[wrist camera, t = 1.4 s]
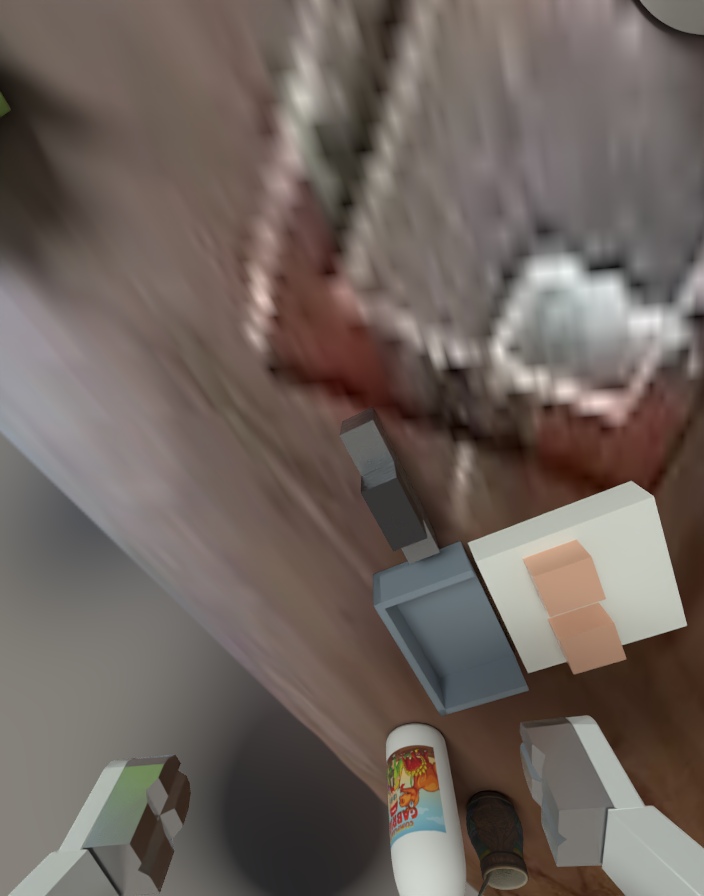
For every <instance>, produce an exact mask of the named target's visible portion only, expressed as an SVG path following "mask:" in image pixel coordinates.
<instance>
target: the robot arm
mask: <svg viewBox="0 0 704 896" xmlns="http://www.w3.org/2000/svg"><path fill="white" fill-rule="evenodd" d="M640 1H641V3H642V4H643V5H644V6H645V7H646V9H647V10H648V11H649V12H650V13H652V14H653V15H654V16H655V17H656V18H657V19H659V20H660V21H662V22H663V23H665V24H667V25H668V26H670V27H673V28H675V29H677V30H680V31H683V32H687V33H692V34H699V35H704V0H640ZM520 734H521V737H522V739H523V743H522V744H521V746H520V751H521V760H522V765H523V770H524V774H525V777H526V780H527V784H528V786H529V789H530V792H531V795H532V798H533V799H534V800H535V801H536V802H537V803H538V804H539V805H540V806H541V807H542V826H543V829H544V831H545V834H546V837H547V840H548V842H549V845H550V848H551V851H552V853H553V856H554V859H555V862H556V864H557V867H560V866H590V865H602V869H603V870H604V871H605V872H606V873H607V875H608V876H609V877H610V878H611V879H612V880H613V882H614V883H615V884H616V885H617V886H618V887H619V888H620V890H621V891H622V892H623V893H624V894H625V895H626V896H704V848H703V847H702V846H700V845H699V844H698V843H697V842H696V841H694V840H693V839H692V838H691V837H690V836H688V835H687V834H686V833H685V832H684V831H683V830H681V829H680V828H679V827H678V826H677V825H675V824H674V823H673V822H672V821H671V820H669V819H668V818H667V817H666V816H665V815H664V814H662V813H661V812H660V811H659V810H658V809H656V808H655V807H654V806H645V805H644V803H643V801H642V800H641V798H640V796H639V795H638V793H637V791H636V789H635V788H634V786H633V784H632V783H631V781H630V779H629V777H628V776H627V774H626V772H625V771H624V769H623V767H622V765H621V764H620V762H619V760H618V759H617V757H616V755H615V753H614V752H613V750H612V748H611V747H610V745H609V743H608V741H607V740H606V738H605V736H604V735H603V733H602V731H601V729H600V728H599V726H598V724H597V723H596V721H595V720H594V719H593V718H592V717H591V716H588V715H585V716H576V717H566V718H565V717H561V718H553V719H544V720H535V721H527V722H521V724H520ZM180 764H181V763H180V762H179V760H178V758H177V757H176V755H168V756H158V757H147V758H130V759H122V760H112V761H111V762H110V763H109V764H108V765H107V767H106V768H105V769H104V770H103V772H102V774H101V776H100V777H99V779H98V781H97V783H96V784H95V786H94V788H93V790H92V792H91V793H90V795H89V797H88V799H87V801H86V803H85V804H84V806H83V808H82V809H81V811H80V813H79V815H78V817H77V819H76V820H75V822H74V824H73V826H72V827H71V829H70V831H69V833H68V835H67V836H66V838H65V840H64V842H63V844H62V845H61V847H60V849H59V851H55V852H51V853H50V854H49V855H48V856H47V857H46V858H45V859H44V860H43V861H42V862H41V863H40V864H39V865H38V866H37V867H36V868H35V869H34V870H33V871H32V872H31V873H30V874H29V875H28V876H27V877H26V878H25V879H24V880H23V881H22V882H21V883H20V884H19V885H18V886H17V887H16V888H15V889H14V890H13V891H12V892H11V893H10V894H9V895H8V896H139V895H149V894H157V893H160V891H161V888H162V885H163V882H164V879H165V876H166V874H167V871H168V867H169V865H170V862H171V859H172V856H173V853H174V848H173V841H172V838H173V837H174V836H175V834H176V833H177V832H178V831H179V830H180V829H181V827H182V826H183V824H184V821H185V818H186V814H187V812H188V808H189V801H190V794H191V792H190V783H189V781H188V778H187V776H186V775H184V774H183V773H181V772H180V771H178V769H179V766H180Z"/></svg>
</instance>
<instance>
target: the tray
mask: <svg viewBox="0 0 704 896" xmlns="http://www.w3.org/2000/svg"><path fill="white" fill-rule="evenodd" d="M439 551H440V553H437V554H434V555H432V556H429V557H427V558H424V559H421V560H419V561H416V562H413V563H411V564H409V562H408V561H407V562H404V563H402V564H399V565H397V566H394V567H391V568H389V569H386V570H383V571H381V572H378V573H376V574H373V602H374V607H375V609H376V610H377V612H378V614H379V615H380V617H381V619H382V620H383V622H384V623H385V625H386V627H387V628H388V630H389V632H390V633H391V635H392V637H393V638H394V640H395V641H396V643H397V645H398V646H399V648H400V650H401V651H402V653H403V655H404V656H405V658H406V659H407V661H408V663H409V664H410V666H411V668H412V669H413V671H414V673H415V674H416V676H417V677H418V679H419V681H420V682H421V684H422V686H423V687H424V689H425V691H426V692H427V694H428V695H429V697H430V699H431V700H432V702H433V704H434V705H435V707H436V709H437V710H438V712H439V713H440V715H441V716H443V715H446V714H450V713H453V712H457V711H460V710H463V709H467V708H470V707H474V706H477V705H481V704H484V703H488V702H491V701H494V700H498V699H501V698H505V697H508V696H512V695H515V694H519V693H522V692H525V691H529V689H528V686H527V684H526V682H525V679H524V677H523V674H522V672H521V669H520V667H519V665H518V662H517V660H516V657H515V655H514V653H513V651H512V649H511V646H510V644H509V642H508V640H507V638H506V636H505V634H504V632H503V630H502V628H501V625H500V623H499V621H498V619H497V617H496V615H495V613H494V611H493V609H492V607H491V604H490V602H489V600H488V598H487V596H486V594H485V592H484V590H483V588H482V586H481V583H480V581H479V579H478V577H477V575H476V573H475V571H474V569H473V567H472V565H471V562H470V560H469V558H468V556H467V554H466V552H465V550H464V548H463V546H462V544H461V541H460V542H457V543H454V544H452V545H449V546H446V547H444V548H441V549H439Z"/></svg>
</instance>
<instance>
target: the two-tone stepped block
mask: <svg viewBox="0 0 704 896" xmlns="http://www.w3.org/2000/svg"><path fill="white" fill-rule="evenodd" d="M340 437H341V439H342V441H343V443H344V445H345V446H346V448H347V450H348V452H349V454H350V456H351V457H352V459H353V461H354V463H355V465H356V467H357V468H358V470H359V472H360V474H361V494H362V496H363V497H364V499H365V501H366V503H367V505H368V506H369V508H370V510H371V512H372V514H373V515H374V517H375V519H376V521H377V523H378V524H379V526H380V528H381V530H382V532H383V533H384V535H385V537H386V539H387V541H388V542H389V544H390V546H391V548H392V550H393V551H396V550H398V549H402V551H403V553H404V555H405V556H406V558H407V560H408V562H409V564H411V563H413V562H416V561H419V560H421V559H424V558H427V557H429V556H432V555H434V554H437V553H440V551H439V547H438V543H437V540H436V536H435V533H434V529H433V527H432V525H431V523H430V521H429V519H428V517H427V515H426V513H425V511H424V509H423V507H422V505H421V503H420V501H419V499H418V497H417V495H416V493H415V491H414V489H413V487H412V485H411V483H410V481H409V479H408V477H407V475H406V473H405V471H404V469H403V467H402V465H401V463H400V461H399V459H398V457H397V455H396V453H395V451H394V449H393V447H392V445H391V443H390V441H389V439H388V437H387V435H386V433H385V431H384V429H383V427H382V425H381V423H380V421H379V419H378V417H377V415H376V413H375V411H374V409H373V407H372V408H370V409H368V410H365V411H363V412H361V413H359V414H357V415H355V416H353V417H351V418H349V419H347V420H345V421H343V422H342V426H341V431H340Z"/></svg>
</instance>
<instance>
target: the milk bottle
mask: <svg viewBox="0 0 704 896" xmlns="http://www.w3.org/2000/svg"><path fill="white" fill-rule="evenodd" d="M386 760H387V784H388V806H389V825H390V842H391V857H392V864H393V871H394V876H395V881H396V885H397V888H398V891H399V894H400V896H465V887H466V865H465V854H464V847H463V840H462V834H461V828H460V822H459V816H458V810H457V804H456V798H455V793H454V787H453V781H452V776H451V770H450V764H449V759H448V753H447V748H446V743H445V740H444V738H443V736H442V735H441V733H440V732H439V731H438V730H437V729H435V728H434V727H432V726H430V725H426V724H422V723H409V724H404V725H401V726H399V727H397V728H395V729H394V730H393V731H392V732H391V733H390V734H389V736H388V738H387V742H386Z"/></svg>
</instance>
